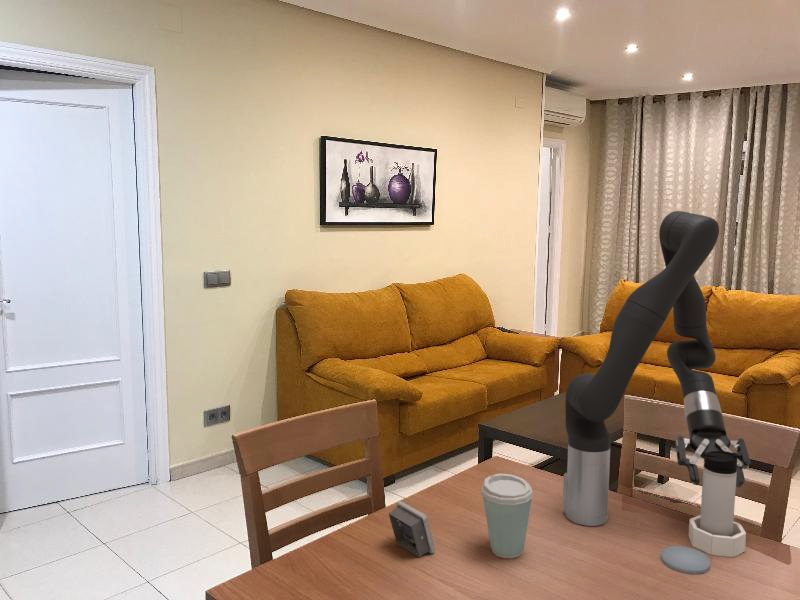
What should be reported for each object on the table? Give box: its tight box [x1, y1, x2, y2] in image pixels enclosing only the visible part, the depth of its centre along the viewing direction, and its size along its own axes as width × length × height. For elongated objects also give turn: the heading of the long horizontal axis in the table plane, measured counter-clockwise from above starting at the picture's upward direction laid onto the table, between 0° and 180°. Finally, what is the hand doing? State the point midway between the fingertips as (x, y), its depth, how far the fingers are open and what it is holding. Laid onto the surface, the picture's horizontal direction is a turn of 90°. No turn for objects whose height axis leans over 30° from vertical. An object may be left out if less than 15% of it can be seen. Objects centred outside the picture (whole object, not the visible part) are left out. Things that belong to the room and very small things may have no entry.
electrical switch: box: [388, 500, 436, 558], centre depth 133 cm, size 9×5×9 cm, turn 38°
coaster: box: [660, 545, 711, 575], centre depth 128 cm, size 9×9×1 cm
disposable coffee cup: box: [480, 473, 534, 559], centre depth 132 cm, size 11×11×15 cm
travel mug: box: [699, 451, 740, 537], centre depth 134 cm, size 6×7×20 cm
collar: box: [688, 514, 747, 558], centre depth 135 cm, size 10×10×4 cm
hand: (718, 484), depth 135 cm, fingers open, 8 cm apart
